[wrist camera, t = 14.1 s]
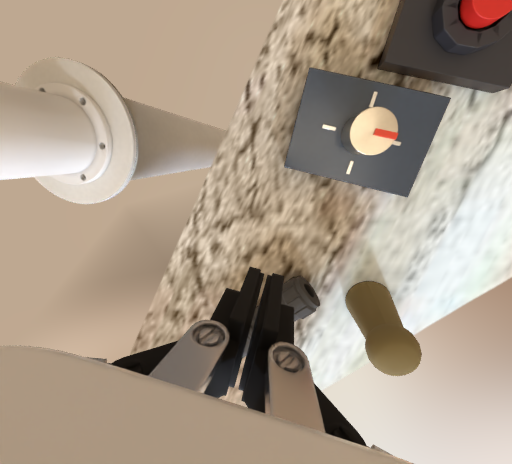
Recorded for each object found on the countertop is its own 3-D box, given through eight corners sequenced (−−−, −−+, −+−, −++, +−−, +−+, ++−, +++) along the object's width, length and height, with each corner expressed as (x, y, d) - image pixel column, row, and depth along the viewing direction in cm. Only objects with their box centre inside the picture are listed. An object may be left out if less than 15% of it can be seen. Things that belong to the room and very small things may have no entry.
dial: (336, 150, 27) (344, 149, 22) (348, 110, 26) (359, 101, 21) (372, 158, 27) (388, 159, 22) (387, 118, 25) (407, 111, 21)
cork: (384, 322, 36) (420, 392, 25) (341, 314, 36) (359, 379, 26) (396, 285, 34) (441, 344, 23) (351, 277, 34) (375, 331, 24)
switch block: (377, 68, 27) (390, 54, 23) (417, -52, 23) (441, -91, 20) (492, 93, 26) (526, 83, 22) (551, -28, 23) (602, -65, 19)
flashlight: (297, 265, 35) (298, 284, 30) (321, 293, 36) (326, 316, 31) (221, 319, 40) (211, 344, 35) (244, 343, 40) (237, 370, 35)
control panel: (284, 165, 31) (283, 166, 28) (308, 75, 28) (309, 66, 25) (397, 193, 30) (408, 197, 27) (435, 103, 27) (452, 97, 24)
